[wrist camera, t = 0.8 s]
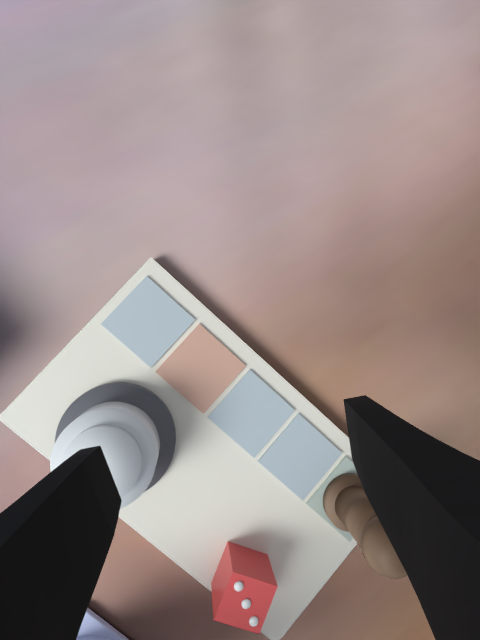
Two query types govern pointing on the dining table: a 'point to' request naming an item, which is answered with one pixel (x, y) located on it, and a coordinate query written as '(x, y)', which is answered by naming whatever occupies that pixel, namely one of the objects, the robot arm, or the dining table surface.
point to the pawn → (361, 523)
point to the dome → (115, 445)
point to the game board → (203, 438)
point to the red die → (243, 588)
